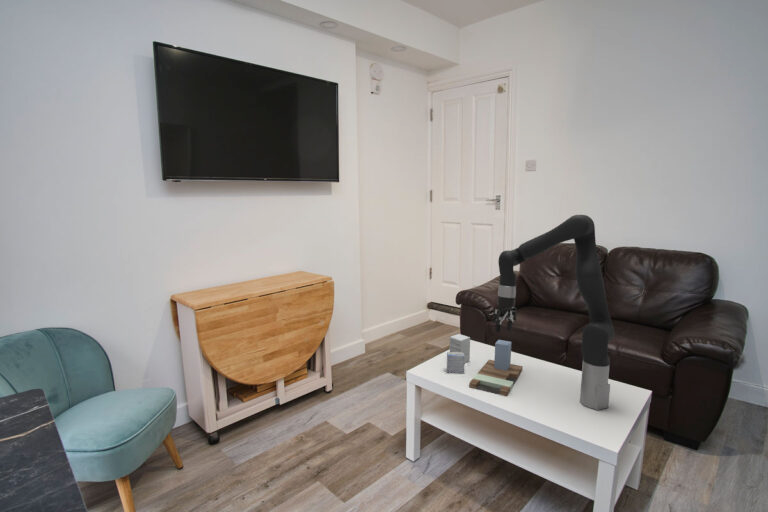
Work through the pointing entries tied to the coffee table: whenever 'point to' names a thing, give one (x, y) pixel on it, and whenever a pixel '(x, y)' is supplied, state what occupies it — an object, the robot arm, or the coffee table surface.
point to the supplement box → (460, 345)
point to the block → (502, 355)
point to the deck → (489, 370)
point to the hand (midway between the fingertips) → (503, 331)
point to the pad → (493, 381)
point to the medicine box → (455, 362)
